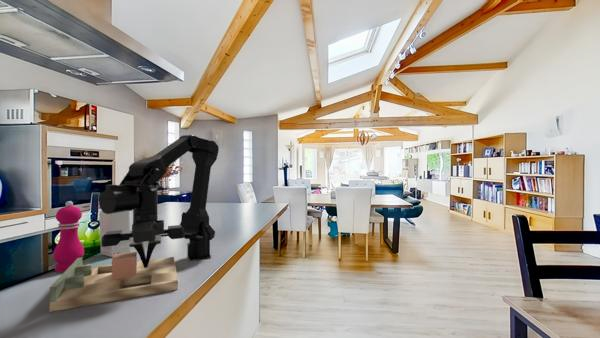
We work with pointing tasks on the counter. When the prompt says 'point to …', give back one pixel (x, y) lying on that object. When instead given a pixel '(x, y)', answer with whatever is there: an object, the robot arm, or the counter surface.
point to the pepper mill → (68, 237)
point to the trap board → (110, 283)
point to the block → (124, 265)
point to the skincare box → (115, 224)
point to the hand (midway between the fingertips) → (145, 267)
